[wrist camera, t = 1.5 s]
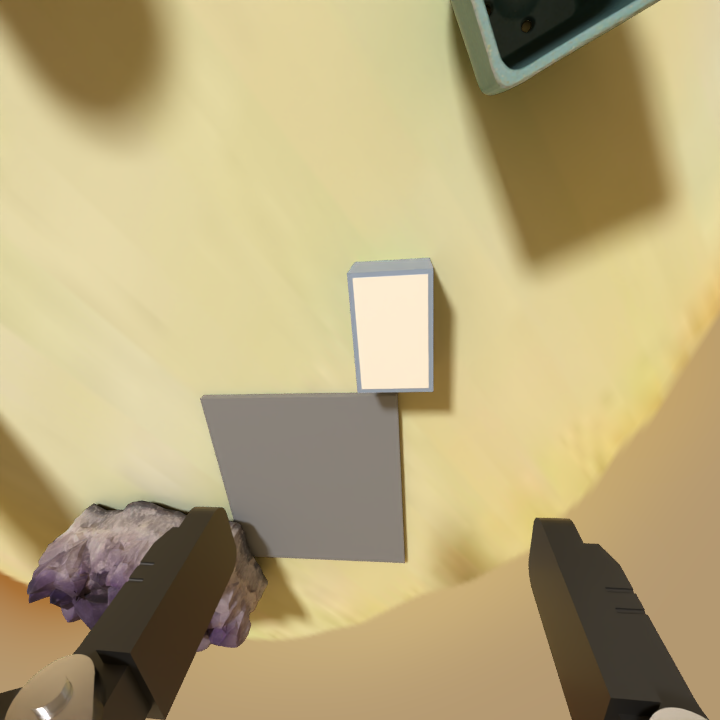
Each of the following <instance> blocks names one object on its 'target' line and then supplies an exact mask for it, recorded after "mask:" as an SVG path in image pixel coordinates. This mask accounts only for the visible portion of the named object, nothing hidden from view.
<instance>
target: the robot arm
mask: <svg viewBox="0 0 720 720" xmlns="http://www.w3.org/2000/svg"><path fill="white" fill-rule="evenodd" d="M236 557H237V550H236V544H235V541H234V538H233V534H232V531H231V527H230V524H229V520H228V517H227V513H226V511H225V509H224V508H219V507H194V508H193V509H191V510H190V512H189V513H188V514H187V516H186V517H185V519H184V520H183V522H182V523H181V525H180V526H179V527H172V528H171V529H170V530H168V531H167V532H166V533H165V534H164V535H163V536H161V537H160V538H159V539H158V540H157V541H155V542H154V543H153V545H152V546H151V548H150V549H149V550H148V552H147V553H146V554H145V556H144V557H143V559H142V560H141V561H140V565H139V566H137V567H136V568H135V570H134V571H133V573H132V574H131V575H130V577H129V580H128V582H125V584H124V585H123V586H122V588H121V589H120V591H119V592H118V593H117V595H116V596H115V598H114V599H113V600H112V602H111V603H110V605H109V606H108V607H107V609H106V610H105V611H104V613H103V614H102V616H101V617H100V618H99V620H98V621H97V623H96V624H95V625H94V627H93V628H92V630H91V631H90V632H89V634H88V635H87V636H86V638H85V639H84V641H83V642H82V644H81V645H80V646H79V647H78V649H77V650H76V651H75V652H74V653H73V654H72V655H69V656H65V657H62V658H60V659H58V660H56V661H54V662H52V663H51V664H49V665H47V666H46V667H45V668H43V669H42V670H40V671H39V672H38V673H37V674H35V675H34V676H33V677H32V678H31V679H30V680H29V681H28V682H27V683H26V684H25V685H24V686H23V687H22V688H18V689H14V690H11V691H7V692H4V693H0V720H145V719H146V718H153V719H161V720H165V719H166V717H167V715H168V713H169V711H170V708H171V706H172V704H173V702H174V700H175V697H176V695H177V693H178V691H179V689H180V687H181V684H182V682H183V680H184V677H185V676H186V673H187V671H188V669H189V667H190V665H191V663H192V660H193V658H194V656H195V654H196V652H197V649H198V647H199V645H200V643H201V641H202V639H203V636H204V634H205V632H206V630H207V628H208V626H209V623H210V621H211V619H212V617H213V615H214V612H215V610H216V608H217V606H218V604H219V602H220V599H221V597H222V595H223V593H224V591H225V588H226V586H227V584H228V582H229V580H230V578H231V575H232V573H233V571H234V568H235V564H236ZM529 577H530V582H531V587H532V590H533V594H534V597H535V601H536V604H537V607H538V610H539V614H540V617H541V620H542V623H543V627H544V630H545V633H546V636H547V639H548V643H549V646H550V649H551V653H552V656H553V659H554V662H555V666H556V669H557V672H558V676H559V679H560V682H561V685H562V689H563V692H564V695H565V698H566V702H567V705H568V708H569V712H570V715H571V717H572V720H709V719H708V718H707V716H706V715H705V714H704V713H703V711H702V710H701V708H700V707H699V705H698V704H697V702H696V700H695V699H694V698H693V695H692V694H691V692H690V690H689V688H688V686H687V685H686V683H685V681H684V680H683V677H682V676H681V674H680V672H679V670H678V669H677V667H676V665H675V663H674V661H673V660H672V658H671V656H670V654H669V652H668V651H667V649H666V647H665V645H664V643H663V642H662V640H661V638H660V636H659V634H658V633H657V631H656V629H655V627H654V626H653V624H652V622H651V620H650V618H649V616H648V615H646V614H645V611H644V608H643V606H642V604H641V602H640V601H639V599H638V597H637V595H636V594H634V592H633V588H632V586H631V584H630V582H629V581H628V579H627V577H626V575H625V574H624V572H623V570H622V568H621V566H620V565H619V564H618V563H617V562H616V561H615V560H614V559H613V558H612V557H611V556H610V555H609V554H608V553H607V552H606V551H605V550H604V549H603V548H602V547H601V546H600V545H599V544H585V543H583V541H582V539H581V537H580V535H579V533H578V531H577V529H576V527H575V525H574V524H573V522H572V521H571V520H570V519H561V518H536V519H535V520H534V525H533V533H532V540H531V547H530V555H529Z"/></svg>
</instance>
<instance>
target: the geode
mask: <svg viewBox="0 0 720 720" xmlns="http://www.w3.org/2000/svg"><path fill="white" fill-rule="evenodd" d="M186 516H187V515H185V514H184V513H182V512H180V511H174V510H169V509H165V508H163V507H160V506H158V505H156V504H154V503H150V502H146V501H137V502H132V503H130V504H128V505H127V506H126V508H125V509H124V510H105V509H103V508H101V507H99V506H98V505H96V504H92V505H91V506H89V507H88V508H87V509H85V510H84V511H83V513H82V514H81V515H79V516H78V517H77V518H75V520H74V522H73V524H72V525H71V526H70V527H69V529H68V530H67V531H66V532H64V533H63V534H62V535H60V536H59V537H57V538H56V539H55V540H54V541H53V543H50V544H48V546H47V548H46V551H45V552H44V553H43V555H42V556H41V558H40V560H39V567H38V568H37V569H36V570H35V571H34V573H33V577H32V580H31V581H30V583H29V585H28V589H27V594H29V603H32V602H34V601H37V600H40V599H43V598H46V597H49V596H50V603H52V604H54V605H57V606H59V607H61V609H62V613H63V616H64V617H65V619H66V620H67V622H74V621H77V620H80V619H82V620H83V622H84V623H85V624H86V625H87V626H88V627H89V628H90V629H91V630H92V628H93V627H94V625H95V624H96V623H97V621H98V620H99V618H100V617H101V616H102V614H103V613H104V611H105V610H106V609H107V607H108V606H109V605H110V603H111V602H112V600H113V599H114V598H115V596H116V595H117V593H118V592H119V591H120V589H121V588H122V586H123V585H124V584H125V582H128V580H129V577H130V575H131V574H132V573H133V571H134V570H135V568H136V567H137V566H139V565H140V561H141V560H142V559H143V557H144V556H145V554H146V553H147V552H148V550H149V549H150V548H151V546H152V545H153V543H154V542H155V541H157V540H158V539H159V538H160V537H161V536H163V535H164V534H165V533H166V532H167V531H168V530H170V529H171V528H172V527H179V526H180V525H181V523H182V522H183V520H184V519H185V517H186ZM229 524H230V527H231V531H232V534H233V538H234V541H235V544H236V550H237V557H236V564H235V568H234V571H233V573H232V575H231V578H230V580H229V582H228V584H227V586H226V588H225V591H224V593H223V595H222V597H221V599H220V602H219V604H218V606H217V608H216V610H215V612H214V615H213V617H212V619H211V621H210V623H209V626H208V628H207V630H206V632H205V634H204V636H203V639H202V641H201V643H200V645H199V647H198V649H197V652H199V651H203V650H205V649H207V648H208V647H209V645H210V644H214V645H218V646H224V647H231V648H235V647H238V646H240V645H241V644H242V643H243V642H244V641H245V639H246V637H247V636H248V634H249V630H250V627H251V623H250V620H249V614H250V613H251V612H252V611H254V610H255V608H256V606H257V603H258V601H259V600H260V598H261V597H262V593H263V592H264V590H265V588H266V586H267V584H268V581H267V579H266V578H265V576H264V575H263V572H262V569H261V568H260V566H259V564H258V563H257V562H256V560H255V558H254V557H253V556H252V555H251V554H250V547H249V546H248V543H247V537H246V533H245V531H244V530H243V528H242V526H241V525H240V524H239V523H237V522H232V521H229Z"/></svg>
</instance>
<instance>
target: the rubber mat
mask: <svg viewBox="0 0 720 720" xmlns="http://www.w3.org/2000/svg"><path fill="white" fill-rule="evenodd" d="M200 400H201V403H202V407H203V410H204V414H205V418H206V421H207V425H208V428H209V432H210V436H211V439H212V443H213V446H214V450H215V454H216V457H217V461H218V464H219V468H220V472H221V475H222V479H223V482H224V486H225V490H226V493H227V497H228V501H229V504H230V508H231V511H232V515H233V519H234V522H237V523H239V524H240V525H241V526H242V528H243V530H244V531H245V533H246V537H247V543H248V546H249V547H250V554H251V555H252V556H257V557H280V558H303V559H325V560H348V561H371V562H393V563H405V553H404V530H403V507H402V485H401V462H400V439H399V417H398V394H397V392H382V393H314V394H247V395H203V396H202V397H201V398H200Z"/></svg>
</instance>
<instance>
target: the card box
mask: <svg viewBox="0 0 720 720" xmlns="http://www.w3.org/2000/svg"><path fill="white" fill-rule="evenodd" d="M347 277H348V288H349V300H350V311H351V322H352V334H353V345H354V356H355V367H356V379H357V390H358V393H378V392H433V266H432V263H431V260H430V258H418V259H401V260H384V261H367V262H355V263H354V264H353V266H352V267H351V269H350V270H349V271H348V273H347Z"/></svg>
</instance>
